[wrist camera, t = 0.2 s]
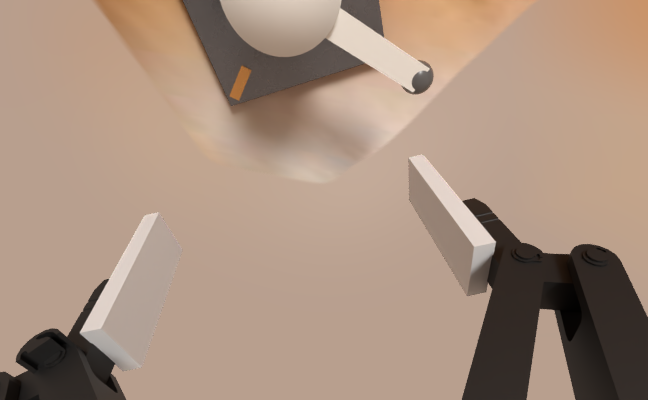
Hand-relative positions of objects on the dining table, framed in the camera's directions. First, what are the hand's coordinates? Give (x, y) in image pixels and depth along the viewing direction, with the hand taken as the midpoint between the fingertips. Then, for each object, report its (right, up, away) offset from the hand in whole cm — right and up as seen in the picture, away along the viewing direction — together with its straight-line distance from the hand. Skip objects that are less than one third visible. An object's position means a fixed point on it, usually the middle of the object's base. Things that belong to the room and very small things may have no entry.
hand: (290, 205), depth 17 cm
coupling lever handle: (+3, +16, +11) cm, 20 cm away
